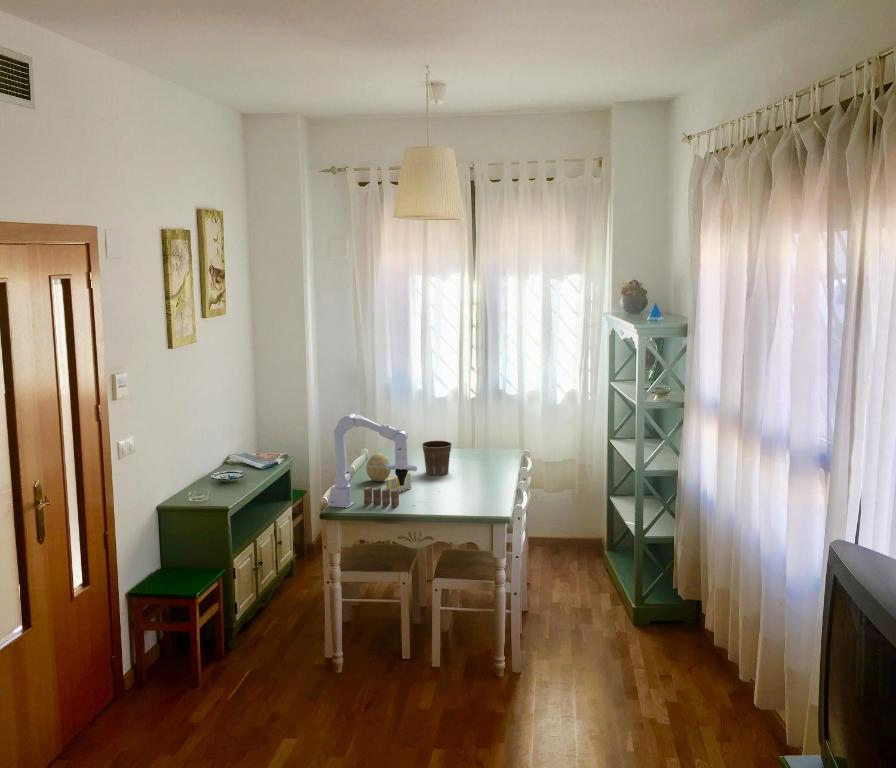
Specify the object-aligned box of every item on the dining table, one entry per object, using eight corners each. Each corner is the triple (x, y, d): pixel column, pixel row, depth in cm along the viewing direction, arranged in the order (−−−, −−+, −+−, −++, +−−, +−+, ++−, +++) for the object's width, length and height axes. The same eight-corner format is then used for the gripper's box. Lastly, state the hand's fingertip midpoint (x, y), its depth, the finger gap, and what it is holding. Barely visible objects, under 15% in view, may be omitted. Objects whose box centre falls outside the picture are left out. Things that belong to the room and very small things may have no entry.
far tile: (391, 507, 403) (391, 491, 402) (395, 504, 408) (394, 488, 406) (395, 508, 402) (395, 491, 401) (399, 505, 407) (398, 488, 406)
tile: (373, 506, 405) (373, 490, 404) (377, 503, 410) (376, 487, 409) (377, 506, 405) (377, 490, 404) (381, 503, 409) (380, 487, 408)
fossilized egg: (381, 485, 442) (380, 457, 439) (361, 482, 448) (360, 454, 446) (395, 479, 452) (395, 452, 450) (376, 476, 459) (375, 449, 457)
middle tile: (382, 507, 404) (381, 490, 403) (386, 504, 409) (385, 487, 408) (386, 507, 404) (386, 490, 402) (390, 504, 408) (389, 488, 407)
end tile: (364, 505, 407) (364, 489, 405) (368, 502, 411) (367, 486, 410) (368, 506, 406) (367, 489, 405) (372, 503, 411) (371, 486, 410)
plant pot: (451, 476, 457) (451, 447, 455) (421, 477, 458) (420, 447, 455) (452, 469, 473) (452, 440, 471) (423, 469, 474) (422, 440, 471)
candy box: (408, 488, 436) (407, 472, 435) (411, 488, 435) (411, 473, 434) (386, 495, 424) (385, 479, 423) (389, 496, 423) (389, 479, 421)
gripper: (418, 455, 402) (419, 483, 404) (389, 454, 406) (390, 482, 408) (414, 458, 395) (414, 487, 397) (384, 457, 399) (385, 485, 401)
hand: (401, 485), depth 402 cm, fingers closed
